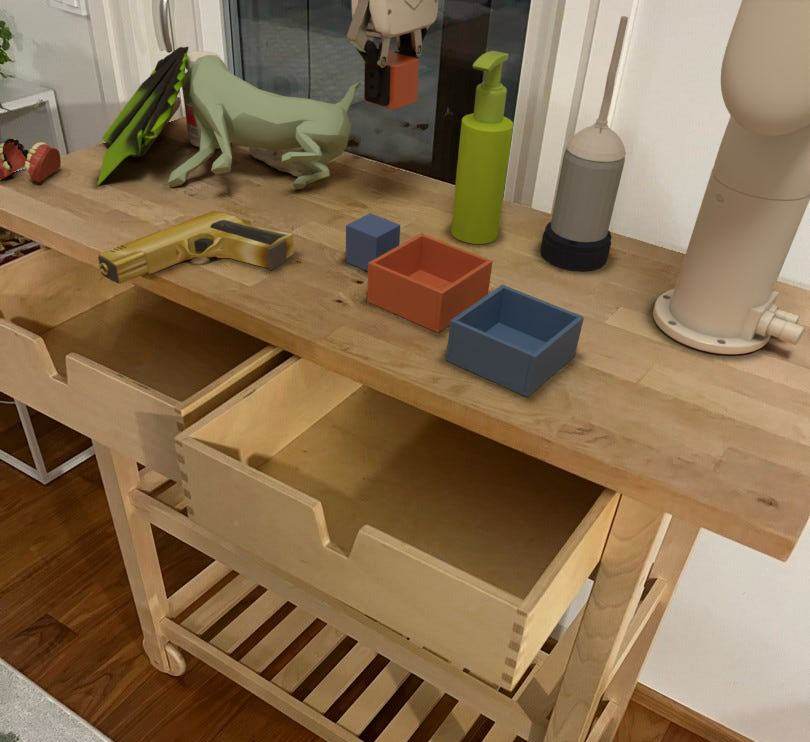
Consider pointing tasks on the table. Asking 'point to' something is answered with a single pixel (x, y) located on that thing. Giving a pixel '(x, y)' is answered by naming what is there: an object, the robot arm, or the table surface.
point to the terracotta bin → (428, 281)
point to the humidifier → (587, 188)
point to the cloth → (145, 111)
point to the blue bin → (513, 339)
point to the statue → (260, 122)
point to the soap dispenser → (483, 158)
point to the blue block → (370, 239)
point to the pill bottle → (189, 112)
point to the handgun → (198, 246)
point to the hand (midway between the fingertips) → (390, 95)
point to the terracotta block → (401, 80)
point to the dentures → (28, 159)
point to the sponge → (275, 158)
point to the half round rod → (146, 147)
